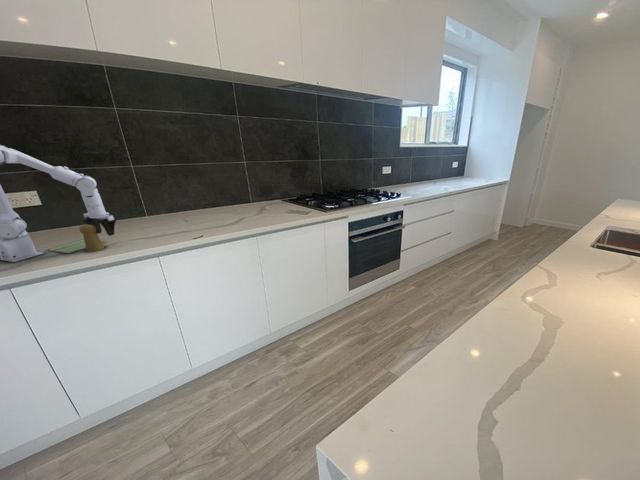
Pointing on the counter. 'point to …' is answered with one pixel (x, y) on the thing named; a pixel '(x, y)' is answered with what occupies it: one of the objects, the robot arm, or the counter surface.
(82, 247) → the napkin
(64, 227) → the counter surface
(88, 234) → the cork
